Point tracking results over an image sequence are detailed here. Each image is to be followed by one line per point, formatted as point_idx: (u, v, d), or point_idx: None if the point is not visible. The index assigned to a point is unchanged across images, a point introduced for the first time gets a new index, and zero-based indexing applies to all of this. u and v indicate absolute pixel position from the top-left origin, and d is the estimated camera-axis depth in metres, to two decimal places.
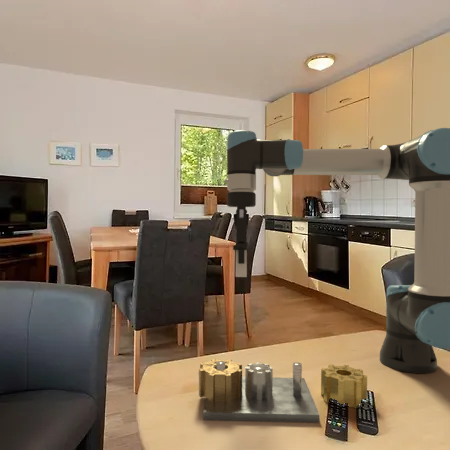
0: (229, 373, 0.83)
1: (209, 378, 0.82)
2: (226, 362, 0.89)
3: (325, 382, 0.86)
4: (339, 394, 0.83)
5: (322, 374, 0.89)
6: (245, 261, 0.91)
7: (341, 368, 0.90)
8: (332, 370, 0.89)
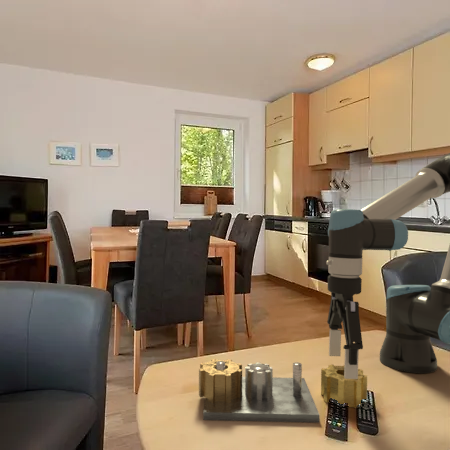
0: (229, 373, 0.83)
1: (209, 378, 0.82)
2: (226, 362, 0.89)
3: (325, 382, 0.86)
4: (339, 394, 0.83)
5: (322, 374, 0.89)
6: None
7: (341, 368, 0.90)
8: (332, 370, 0.89)
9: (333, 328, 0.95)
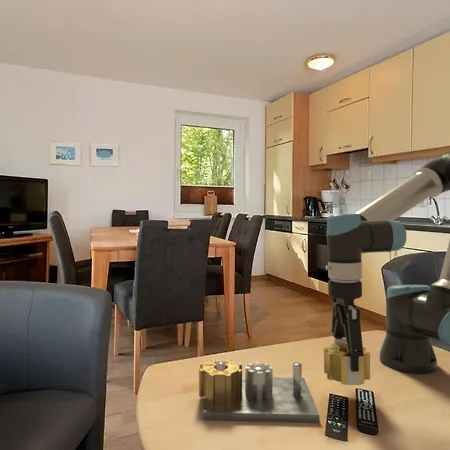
0: (229, 373, 0.83)
1: (209, 378, 0.82)
2: (226, 362, 0.89)
3: (328, 360, 0.86)
4: (342, 371, 0.83)
5: (325, 352, 0.89)
6: None
7: (343, 346, 0.90)
8: (335, 348, 0.89)
9: (338, 337, 0.93)
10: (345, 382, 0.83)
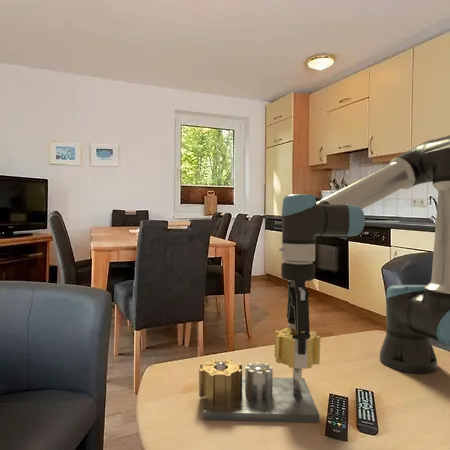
0: (229, 373, 0.83)
1: (209, 378, 0.82)
2: (226, 362, 0.89)
3: (277, 342, 0.84)
4: (289, 353, 0.81)
5: (276, 336, 0.87)
6: (306, 351, 0.80)
7: None
8: (286, 332, 0.87)
9: (291, 322, 0.91)
10: (292, 365, 0.81)
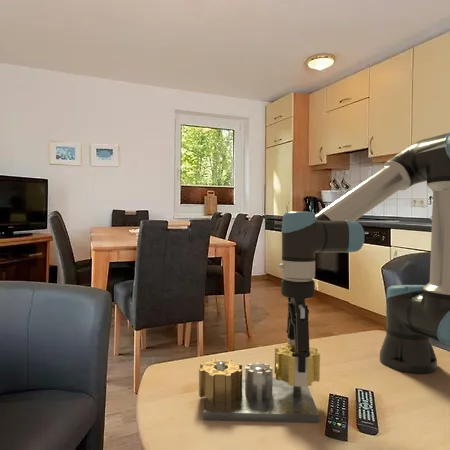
0: (229, 373, 0.83)
1: (209, 378, 0.82)
2: (226, 362, 0.89)
3: (277, 359, 0.84)
4: (289, 371, 0.81)
5: (276, 352, 0.87)
6: (305, 368, 0.80)
7: None
8: (286, 348, 0.87)
9: (291, 338, 0.91)
10: (292, 383, 0.81)
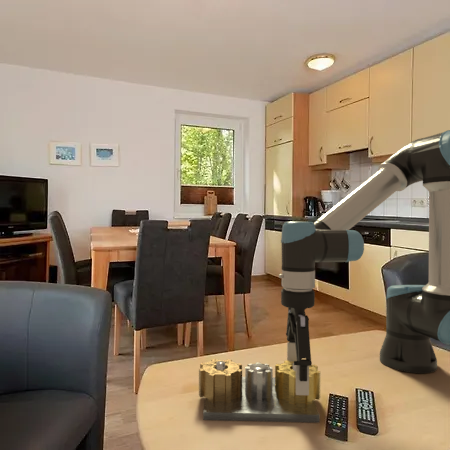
0: (229, 373, 0.83)
1: (209, 378, 0.82)
2: (226, 362, 0.89)
3: (277, 378, 0.84)
4: (290, 390, 0.82)
5: (276, 370, 0.87)
6: (307, 377, 0.79)
7: None
8: (286, 366, 0.87)
9: (291, 341, 0.93)
10: (292, 401, 0.81)
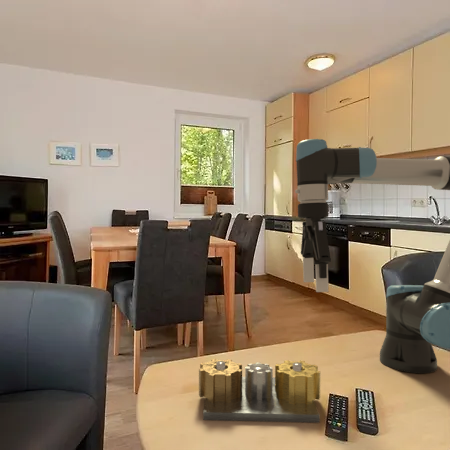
0: (229, 373, 0.83)
1: (209, 378, 0.82)
2: (226, 362, 0.89)
3: (277, 378, 0.84)
4: (290, 390, 0.82)
5: (276, 370, 0.87)
6: None
7: None
8: (286, 366, 0.87)
9: (306, 256, 1.01)
10: (292, 401, 0.81)
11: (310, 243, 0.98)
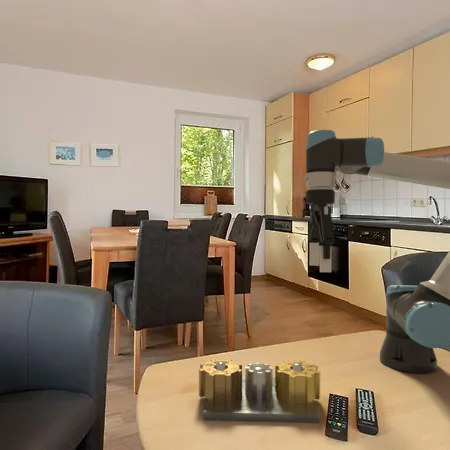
0: (229, 373, 0.83)
1: (209, 378, 0.82)
2: (226, 362, 0.89)
3: (277, 378, 0.84)
4: (290, 390, 0.82)
5: (276, 370, 0.87)
6: (330, 257, 0.93)
7: None
8: (286, 366, 0.87)
9: (313, 241, 1.07)
10: (292, 401, 0.81)
11: (317, 228, 1.04)
